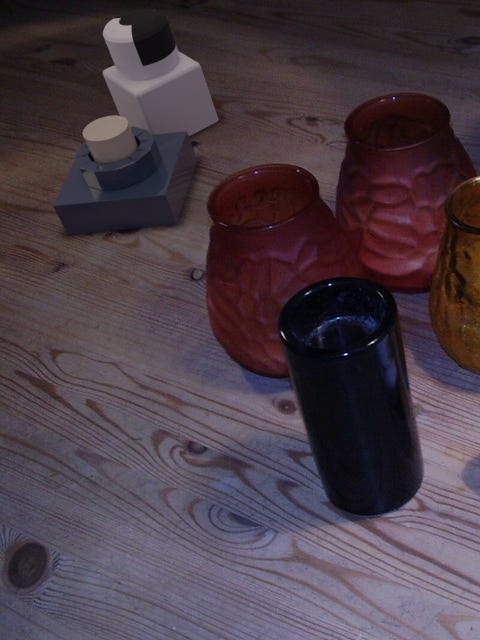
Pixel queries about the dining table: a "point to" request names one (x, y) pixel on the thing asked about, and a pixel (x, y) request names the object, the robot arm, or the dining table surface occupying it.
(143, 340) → the dining table surface
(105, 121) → the beige cylinder
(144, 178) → the button housing
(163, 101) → the medicine bottle
